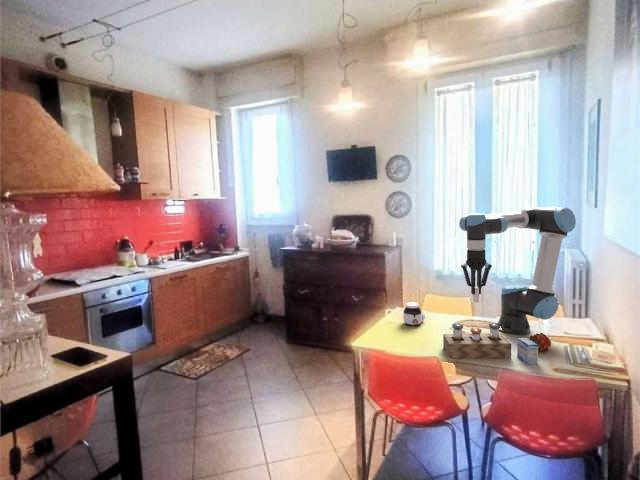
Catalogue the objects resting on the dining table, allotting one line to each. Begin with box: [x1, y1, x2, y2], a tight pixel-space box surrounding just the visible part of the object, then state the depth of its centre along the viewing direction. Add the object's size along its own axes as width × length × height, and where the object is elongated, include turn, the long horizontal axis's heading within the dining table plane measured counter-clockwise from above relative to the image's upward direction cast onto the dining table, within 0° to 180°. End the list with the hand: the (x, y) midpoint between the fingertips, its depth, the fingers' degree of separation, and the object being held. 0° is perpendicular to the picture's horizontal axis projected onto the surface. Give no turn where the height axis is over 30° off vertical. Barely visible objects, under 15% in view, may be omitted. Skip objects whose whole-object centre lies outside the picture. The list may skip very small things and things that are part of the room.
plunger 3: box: [488, 322, 500, 341], centre depth 171 cm, size 5×5×9 cm
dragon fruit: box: [528, 332, 552, 353], centre depth 173 cm, size 8×8×12 cm
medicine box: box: [516, 337, 539, 366], centre depth 163 cm, size 8×4×9 cm, turn 5°
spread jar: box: [402, 301, 426, 327], centre depth 215 cm, size 12×11×12 cm
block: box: [442, 332, 512, 360], centre depth 172 cm, size 26×12×7 cm, turn 85°
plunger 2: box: [470, 327, 482, 341], centre depth 172 cm, size 5×5×9 cm
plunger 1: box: [451, 322, 464, 341], centre depth 172 cm, size 5×5×9 cm
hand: (476, 301), depth 170 cm, fingers closed
